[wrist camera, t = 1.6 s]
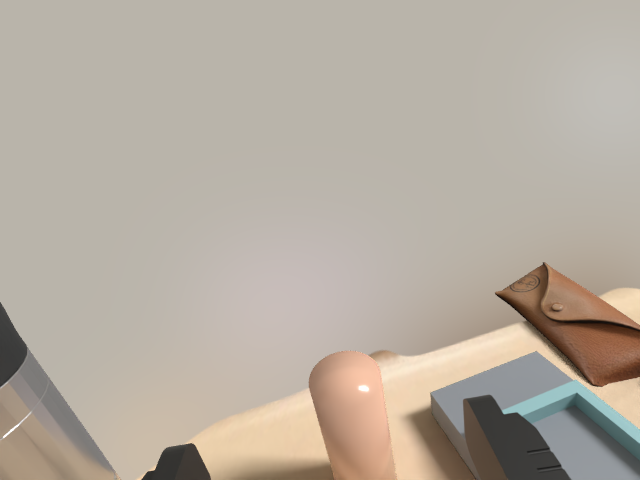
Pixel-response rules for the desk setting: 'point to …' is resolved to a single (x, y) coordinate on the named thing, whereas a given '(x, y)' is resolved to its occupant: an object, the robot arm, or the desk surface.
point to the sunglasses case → (578, 325)
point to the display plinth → (548, 418)
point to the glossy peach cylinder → (353, 416)
